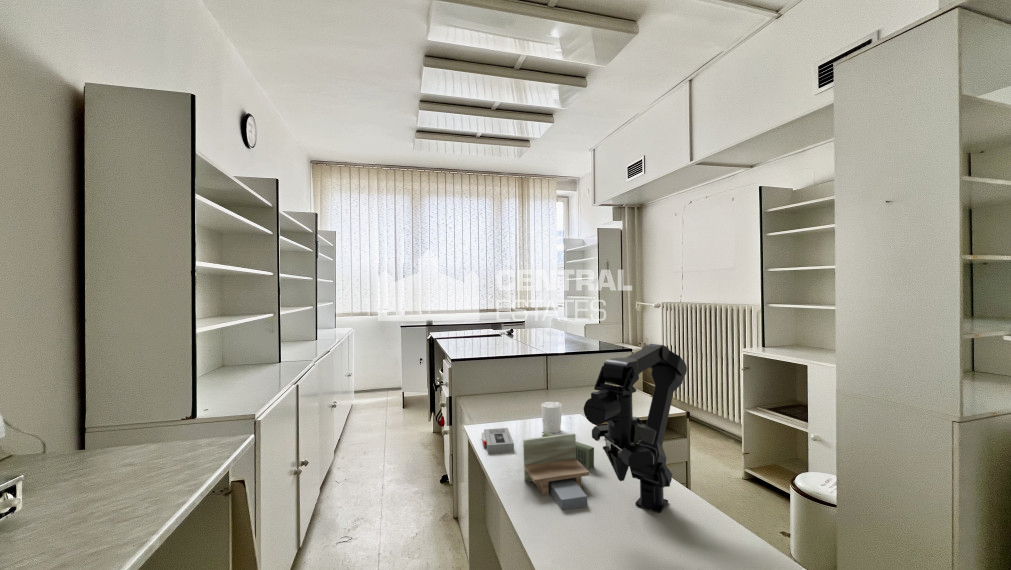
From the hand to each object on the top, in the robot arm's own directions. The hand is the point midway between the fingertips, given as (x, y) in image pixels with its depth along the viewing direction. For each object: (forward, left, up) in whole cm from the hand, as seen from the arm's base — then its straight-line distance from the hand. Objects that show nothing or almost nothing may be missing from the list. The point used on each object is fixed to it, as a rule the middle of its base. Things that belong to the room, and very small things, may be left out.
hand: (621, 480), depth 100 cm
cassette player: (-26, -53, -10) cm, 60 cm away
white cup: (-45, -48, -11) cm, 67 cm away
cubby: (-8, -23, -11) cm, 27 cm away
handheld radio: (-26, -32, -12) cm, 43 cm away
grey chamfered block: (-6, -19, -11) cm, 23 cm away
